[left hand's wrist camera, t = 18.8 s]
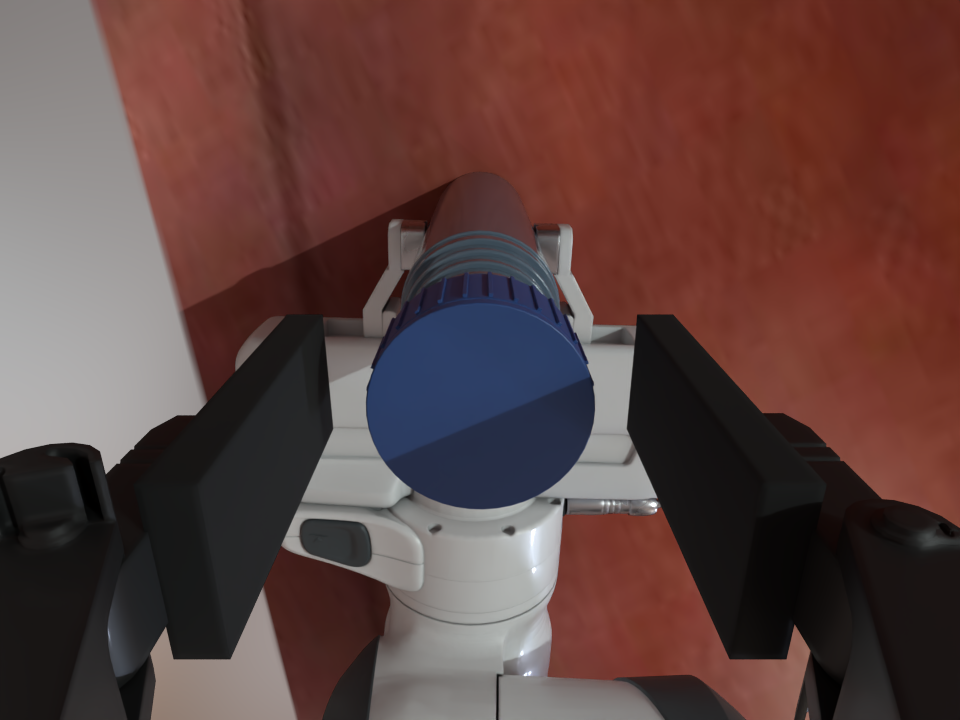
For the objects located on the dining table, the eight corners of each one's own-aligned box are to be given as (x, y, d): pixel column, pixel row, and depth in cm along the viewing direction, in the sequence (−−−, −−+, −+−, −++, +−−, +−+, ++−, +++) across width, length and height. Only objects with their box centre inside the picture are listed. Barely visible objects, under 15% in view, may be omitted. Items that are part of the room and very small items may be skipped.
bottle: (488, 152, 32) (502, 241, 12) (542, 225, 33) (639, 418, 13) (417, 210, 33) (318, 382, 13) (472, 278, 34) (462, 533, 14)
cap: (500, 489, 16) (504, 548, 13) (341, 389, 15) (318, 436, 12) (623, 348, 14) (647, 389, 12) (455, 226, 13) (450, 250, 11)
